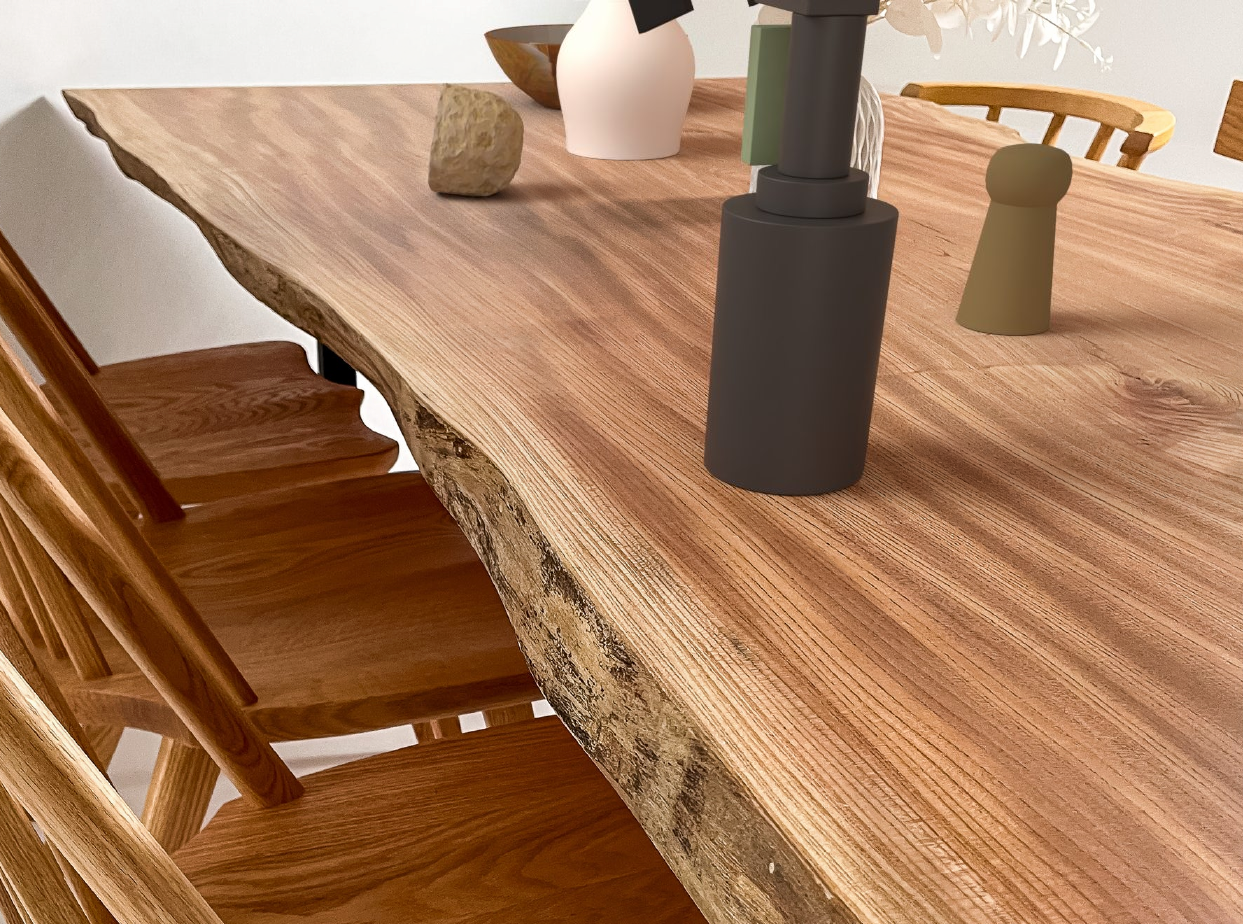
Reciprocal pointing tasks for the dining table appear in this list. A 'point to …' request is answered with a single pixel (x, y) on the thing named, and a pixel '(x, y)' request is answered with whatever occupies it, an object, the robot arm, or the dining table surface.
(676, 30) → the vase
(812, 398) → the spray bottle
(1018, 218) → the cork
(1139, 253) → the dining table surface
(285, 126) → the dining table surface
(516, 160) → the tan rough stone lump
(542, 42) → the bowl
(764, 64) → the sage green tall block
